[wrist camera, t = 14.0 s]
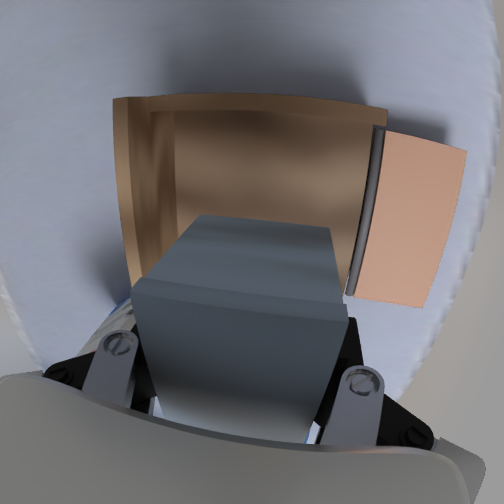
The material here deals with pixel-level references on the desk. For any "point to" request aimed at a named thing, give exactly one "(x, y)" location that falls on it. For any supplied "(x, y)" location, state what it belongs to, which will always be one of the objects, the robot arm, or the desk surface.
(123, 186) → the brown open box
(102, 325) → the ink box
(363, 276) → the panel
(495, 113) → the desk surface
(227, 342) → the blue gray block
